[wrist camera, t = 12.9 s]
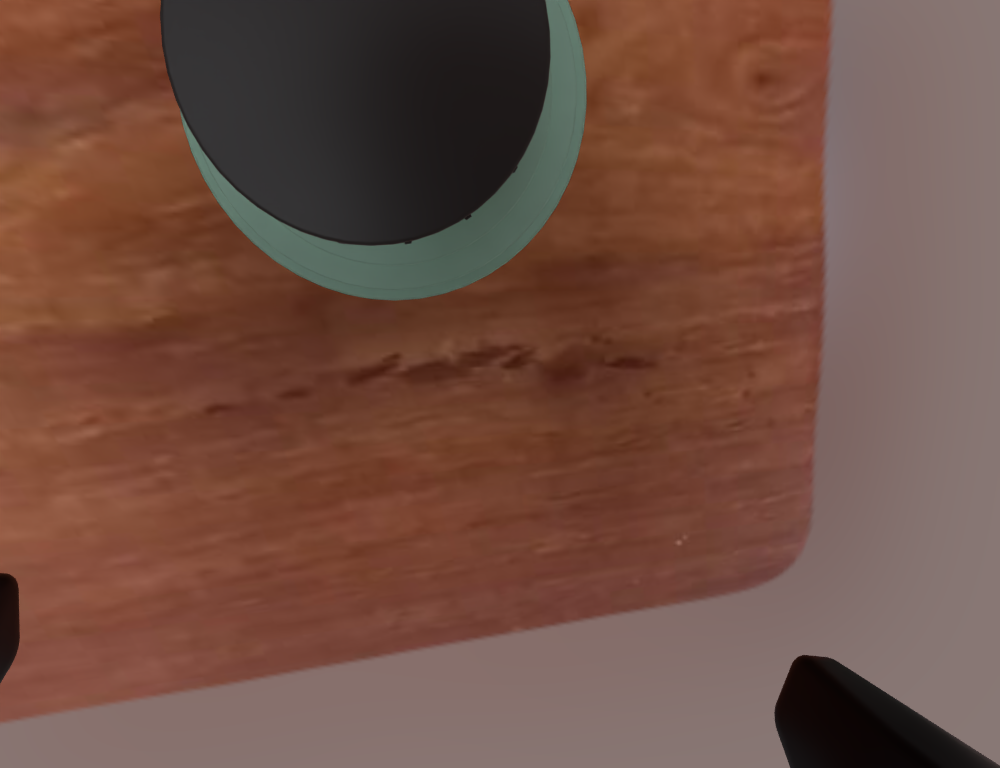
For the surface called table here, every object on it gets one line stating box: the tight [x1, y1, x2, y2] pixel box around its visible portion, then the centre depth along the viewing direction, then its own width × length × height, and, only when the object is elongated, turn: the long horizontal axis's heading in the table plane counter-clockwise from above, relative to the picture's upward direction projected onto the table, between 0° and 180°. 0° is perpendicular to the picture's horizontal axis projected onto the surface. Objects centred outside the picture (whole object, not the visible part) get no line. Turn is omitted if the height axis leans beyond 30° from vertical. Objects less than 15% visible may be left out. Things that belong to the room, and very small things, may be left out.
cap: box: [160, 0, 551, 246], centre depth 8 cm, size 4×4×2 cm
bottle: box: [180, 0, 586, 300], centre depth 13 cm, size 6×6×12 cm
